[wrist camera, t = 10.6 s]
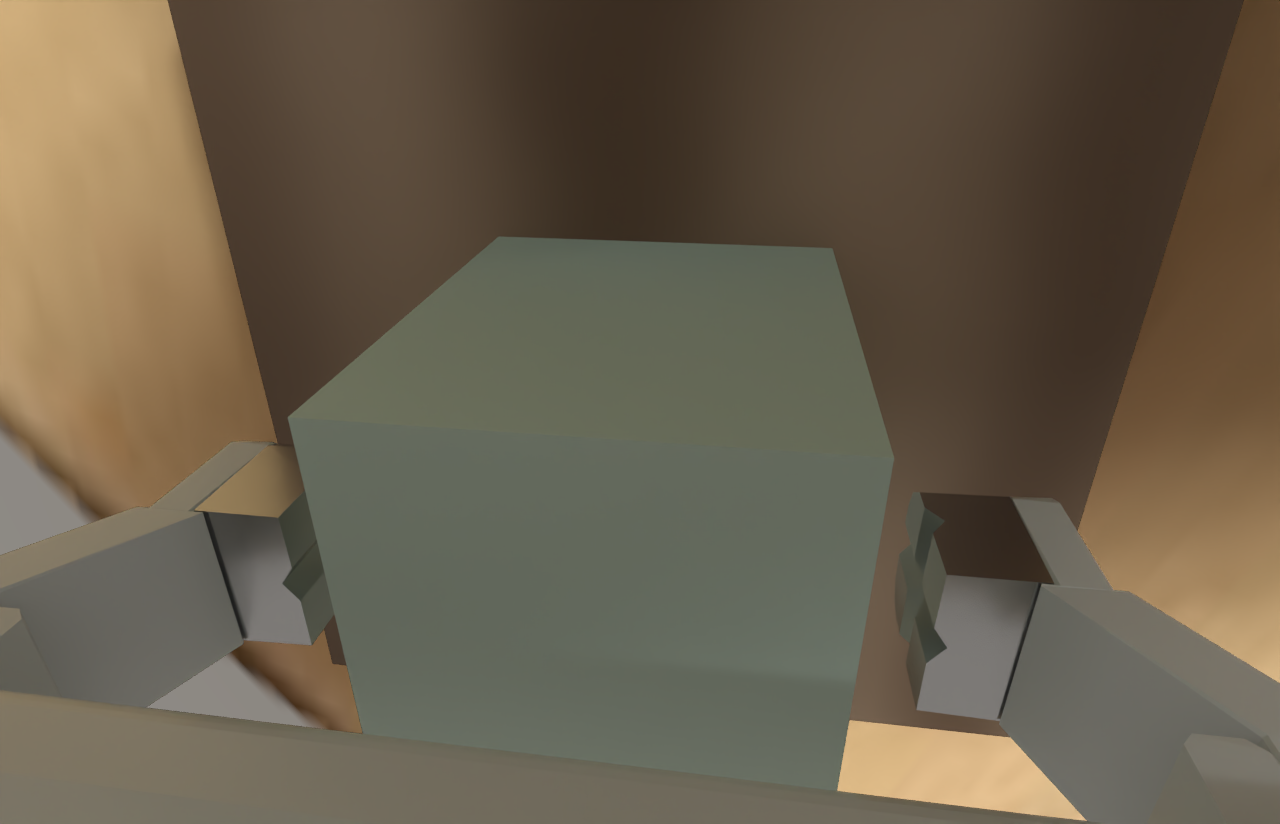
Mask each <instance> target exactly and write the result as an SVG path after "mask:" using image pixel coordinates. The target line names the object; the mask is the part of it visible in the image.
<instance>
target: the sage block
mask: <svg viewBox="0 0 1280 824" xmlns="http://www.w3.org/2000/svg"><path fill="white" fill-rule="evenodd" d="M288 421H289V425H290V430H291V434H292V438H293V442H294V446H295V451H296V455H297V459H298V463H299V467H300V472H301V476H302V480H303V484H304V488H305V493H306V497H307V501H308V505H309V509H310V514H311V518H312V522H313V526H314V530H315V535H316V539H317V543H318V547H319V551H320V556H321V560H322V564H323V568H324V572H325V577H326V581H327V585H328V589H329V593H330V598H331V602H332V606H333V610H334V614H335V619H336V623H337V627H338V631H339V636H340V640H341V644H342V648H343V652H344V657H345V661H346V665H347V669H348V673H349V678H350V682H351V686H352V690H353V694H354V699H355V703H356V707H357V711H358V715H359V720H360V724H361V728H362V732H363V734H369V735H377V736H385V737H394V738H402V739H410V740H419V741H427V742H436V743H444V744H452V745H461V746H469V747H477V748H486V749H494V750H503V751H511V752H519V753H528V754H536V755H545V756H553V757H561V758H570V759H578V760H586V761H595V762H603V763H612V764H620V765H628V766H636V767H644V768H653V769H661V770H669V771H677V772H685V773H694V774H702V775H710V776H718V777H726V778H735V779H743V780H751V781H759V782H767V783H775V784H784V785H792V786H800V787H808V788H816V789H825V790H833V791H837V788H838V782H839V776H840V770H841V764H842V758H843V753H844V747H845V741H846V735H847V729H848V724H849V718H850V712H851V706H852V700H853V695H854V689H855V683H856V677H857V671H858V666H859V660H860V654H861V648H862V642H863V637H864V631H865V625H866V619H867V613H868V608H869V602H870V596H871V590H872V584H873V578H874V573H875V567H876V561H877V555H878V549H879V544H880V538H881V532H882V526H883V520H884V515H885V509H886V503H887V497H888V491H889V486H890V480H891V474H892V468H893V462H894V455H893V452H892V449H891V445H890V442H889V439H888V435H887V432H886V428H885V425H884V422H883V418H882V415H881V411H880V408H879V405H878V401H877V398H876V394H875V391H874V388H873V384H872V381H871V377H870V374H869V371H868V367H867V364H866V361H865V357H864V354H863V350H862V347H861V344H860V340H859V337H858V333H857V330H856V327H855V323H854V320H853V316H852V313H851V310H850V306H849V303H848V299H847V296H846V293H845V289H844V286H843V283H842V279H841V276H840V272H839V269H838V266H837V262H836V259H835V255H834V252H833V249H832V248H815V247H786V246H757V245H729V244H700V243H671V242H642V241H614V240H585V239H556V238H528V237H497V238H496V239H495V240H494V241H493V242H492V243H490V244H489V245H488V246H487V247H486V248H485V249H483V250H482V251H481V252H480V253H479V254H478V255H476V256H475V257H474V258H473V259H472V260H471V261H469V262H468V263H467V264H466V265H465V266H464V267H462V268H461V269H460V270H459V271H458V272H457V273H455V274H454V275H453V276H452V277H451V278H450V279H448V280H447V281H446V282H445V283H444V284H443V285H441V286H440V287H439V288H438V289H437V290H436V291H434V292H433V293H432V294H431V295H430V296H429V297H427V298H426V299H425V300H424V301H423V302H422V303H420V304H419V305H418V306H417V307H416V308H415V309H413V310H412V311H411V312H410V313H409V314H408V315H406V316H405V317H404V318H403V319H402V320H401V321H399V322H398V323H397V324H396V325H395V326H394V327H392V328H391V329H390V330H389V331H388V332H387V333H385V334H384V335H383V336H382V337H381V338H380V339H378V340H377V341H376V342H375V343H374V344H373V345H371V346H370V347H369V348H368V349H367V350H366V351H364V352H363V353H362V354H361V355H360V356H359V357H357V358H356V359H355V360H354V361H353V362H352V363H350V364H349V365H348V366H347V367H346V368H345V369H343V370H342V371H341V372H340V373H339V374H338V375H336V376H335V377H334V378H333V379H332V380H331V381H329V382H328V383H327V384H326V385H325V386H324V387H322V388H321V389H320V390H319V391H318V392H317V393H315V394H314V395H313V396H312V397H311V398H310V399H308V400H307V401H306V402H305V403H304V404H303V405H301V406H300V407H299V408H298V409H297V410H296V411H294V412H293V413H292V414H291V415H290V416H289V417H288Z"/></svg>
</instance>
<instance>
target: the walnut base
mask: <svg viewBox="0 0 1280 824" xmlns="http://www.w3.org/2000/svg"><path fill="white" fill-rule="evenodd" d="M1243 1H1244V0H168V3H169V7H170V11H171V15H172V19H173V23H174V27H175V31H176V35H177V39H178V43H179V47H180V51H181V55H182V59H183V63H184V67H185V71H186V75H187V79H188V84H189V88H190V92H191V96H192V100H193V104H194V108H195V112H196V116H197V120H198V124H199V128H200V132H201V136H202V140H203V144H204V148H205V152H206V156H207V160H208V164H209V168H210V172H211V176H212V180H213V184H214V188H215V192H216V196H217V200H218V204H219V208H220V212H221V216H222V220H223V224H224V228H225V232H226V236H227V240H228V244H229V248H230V252H231V256H232V261H233V265H234V269H235V273H236V277H237V281H238V285H239V289H240V293H241V297H242V301H243V305H244V309H245V313H246V317H247V321H248V325H249V329H250V333H251V337H252V341H253V345H254V349H255V353H256V357H257V361H258V365H259V369H260V373H261V377H262V381H263V385H264V389H265V393H266V397H267V401H268V405H269V409H270V413H271V417H272V421H273V425H274V429H275V433H276V437H277V442H278V444H279V443H283V444H294V442H293V438H292V434H291V430H290V425H289V421H288V417H289V416H290V415H291V414H292V413H293V412H294V411H296V410H297V409H298V408H299V407H300V406H301V405H303V404H304V403H305V402H306V401H307V400H308V399H310V398H311V397H312V396H313V395H314V394H315V393H317V392H318V391H319V390H320V389H321V388H322V387H324V386H325V385H326V384H327V383H328V382H329V381H331V380H332V379H333V378H334V377H335V376H336V375H338V374H339V373H340V372H341V371H342V370H343V369H345V368H346V367H347V366H348V365H349V364H350V363H352V362H353V361H354V360H355V359H356V358H357V357H359V356H360V355H361V354H362V353H363V352H364V351H366V350H367V349H368V348H369V347H370V346H371V345H373V344H374V343H375V342H376V341H377V340H378V339H380V338H381V337H382V336H383V335H384V334H385V333H387V332H388V331H389V330H390V329H391V328H392V327H394V326H395V325H396V324H397V323H398V322H399V321H401V320H402V319H403V318H404V317H405V316H406V315H408V314H409V313H410V312H411V311H412V310H413V309H415V308H416V307H417V306H418V305H419V304H420V303H422V302H423V301H424V300H425V299H426V298H427V297H429V296H430V295H431V294H432V293H433V292H434V291H436V290H437V289H438V288H439V287H440V286H441V285H443V284H444V283H445V282H446V281H447V280H448V279H450V278H451V277H452V276H453V275H454V274H455V273H457V272H458V271H459V270H460V269H461V268H462V267H464V266H465V265H466V264H467V263H468V262H469V261H471V260H472V259H473V258H474V257H475V256H476V255H478V254H479V253H480V252H481V251H482V250H483V249H485V248H486V247H487V246H488V245H489V244H490V243H492V242H493V241H494V240H495V239H496V238H497V237H528V238H556V239H585V240H614V241H642V242H671V243H700V244H729V245H757V246H786V247H815V248H832V249H833V252H834V255H835V259H836V262H837V266H838V269H839V272H840V276H841V279H842V283H843V286H844V289H845V293H846V296H847V299H848V303H849V306H850V310H851V313H852V316H853V320H854V323H855V327H856V330H857V333H858V337H859V340H860V344H861V347H862V350H863V354H864V357H865V361H866V364H867V367H868V371H869V374H870V377H871V381H872V384H873V388H874V391H875V394H876V398H877V401H878V405H879V408H880V411H881V415H882V418H883V422H884V425H885V428H886V432H887V435H888V439H889V442H890V445H891V449H892V452H893V455H894V462H893V468H892V474H891V480H890V486H889V491H888V497H887V503H886V509H885V515H884V520H883V526H882V532H881V538H880V544H879V549H878V555H877V561H876V567H875V573H874V578H873V584H872V590H871V596H870V602H869V608H868V613H867V619H866V625H865V631H864V637H863V642H862V648H861V654H860V660H859V666H858V671H857V677H856V683H855V689H854V695H853V700H852V706H851V712H850V718H849V720H855V721H864V722H873V723H883V724H892V725H901V726H910V727H920V728H929V729H938V730H947V731H956V732H966V733H975V734H984V735H993V736H1003V737H1010V736H1009V735H1008V734H1007V733H1006V732H1005V731H1004V730H1003V728H1002V727H1001V726H1000V725H999V723H1000V721H995V720H988V719H980V718H973V717H965V716H958V715H950V714H943V713H935V712H928V711H920V710H916V706H915V702H914V698H913V693H912V689H911V685H910V680H909V676H908V672H907V667H906V659H907V654H908V649H909V644H910V643H909V642H908V641H906V640H905V639H904V638H903V637H902V636H901V635H900V634H899V630H898V625H897V620H896V612H895V602H894V598H895V577H896V571H897V564H898V558H899V554H900V553H901V552H902V551H903V550H904V549H905V548H907V547H908V546H909V545H910V544H911V543H910V540H909V536H908V532H907V528H906V524H905V520H906V515H907V510H908V505H909V502H910V500H911V497H912V494H913V492H924V493H944V494H964V495H985V496H1007V497H1034V498H1052V499H1054V500H1056V501H1058V502H1059V503H1060V504H1061V505H1062V507H1063V509H1064V510H1065V512H1066V514H1067V515H1068V517H1069V518H1070V520H1071V522H1072V523H1073V525H1074V526H1075V528H1076V530H1078V527H1079V524H1080V521H1081V517H1082V514H1083V511H1084V508H1085V505H1086V501H1087V498H1088V495H1089V492H1090V489H1091V486H1092V482H1093V479H1094V476H1095V473H1096V470H1097V466H1098V463H1099V460H1100V457H1101V454H1102V450H1103V447H1104V444H1105V441H1106V438H1107V435H1108V431H1109V428H1110V425H1111V422H1112V419H1113V415H1114V412H1115V409H1116V406H1117V403H1118V399H1119V396H1120V393H1121V390H1122V387H1123V384H1124V380H1125V377H1126V374H1127V371H1128V368H1129V364H1130V361H1131V358H1132V355H1133V352H1134V349H1135V345H1136V342H1137V339H1138V336H1139V333H1140V329H1141V326H1142V323H1143V320H1144V317H1145V313H1146V310H1147V307H1148V304H1149V301H1150V298H1151V294H1152V291H1153V288H1154V285H1155V282H1156V278H1157V275H1158V272H1159V269H1160V266H1161V262H1162V259H1163V256H1164V253H1165V250H1166V247H1167V243H1168V240H1169V237H1170V234H1171V231H1172V227H1173V224H1174V221H1175V218H1176V215H1177V212H1178V208H1179V205H1180V202H1181V199H1182V196H1183V192H1184V189H1185V186H1186V183H1187V180H1188V176H1189V173H1190V170H1191V167H1192V164H1193V161H1194V157H1195V154H1196V151H1197V148H1198V145H1199V141H1200V138H1201V135H1202V132H1203V129H1204V125H1205V122H1206V119H1207V116H1208V113H1209V110H1210V106H1211V103H1212V100H1213V97H1214V94H1215V90H1216V87H1217V84H1218V81H1219V78H1220V75H1221V71H1222V68H1223V65H1224V62H1225V59H1226V55H1227V52H1228V49H1229V46H1230V43H1231V39H1232V36H1233V33H1234V30H1235V27H1236V24H1237V20H1238V17H1239V14H1240V11H1241V8H1242V4H1243ZM324 631H325V635H326V639H327V643H328V647H329V651H330V655H331V659H332V663H333V664H339V665H346V661H345V657H344V652H343V648H342V644H341V640H340V636H339V631H338V627H337V623H336V619H335V614H334V615H333V617H332V618H331V619H330V621H329V622H328V624H327V625H326V626H325V628H324Z"/></svg>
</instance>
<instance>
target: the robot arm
mask: <svg viewBox="0 0 1280 824" xmlns="http://www.w3.org/2000/svg"><path fill="white" fill-rule="evenodd" d="M905 524H906V528H907V532H908V536H909V540H910V543H911V544H910V545H909V546H908V547H907V548H905V549H904V550H903V551H902V552H901V553H900V554H899V558H898V564H897V571H896V577H895V598H894V602H895V612H896V620H897V625H898V630H899V634H900V635H901V636H902V637H903V638H904V639H905V640H906V641H908V642H909V643H910V644H909V649H908V654H907V659H906V667H907V672H908V676H909V680H910V685H911V689H912V693H913V698H914V702H915V706H916V710H920V711H928V712H935V713H943V714H950V715H958V716H965V717H973V718H980V719H988V720H995V721H1000V723H999V725H1000V726H1001V727H1002V728H1003V730H1004V731H1005V732H1006V733H1007V734H1008V735H1009V736H1010V737H1011V738H1012V739H1013V740H1014V742H1015V743H1016V744H1017V745H1018V746H1019V747H1020V748H1021V749H1022V750H1023V751H1024V752H1025V754H1026V755H1027V756H1028V757H1029V758H1030V759H1031V760H1032V761H1033V762H1034V763H1035V764H1036V766H1037V767H1038V768H1039V769H1040V770H1041V771H1042V772H1043V773H1044V774H1045V775H1046V776H1047V778H1048V779H1049V780H1050V781H1051V782H1052V783H1053V784H1054V785H1055V786H1056V787H1057V788H1058V790H1059V791H1060V792H1061V793H1062V794H1063V795H1064V796H1065V797H1066V798H1067V799H1068V800H1069V802H1070V803H1071V804H1072V805H1073V806H1074V807H1075V808H1076V809H1077V810H1078V811H1079V812H1080V814H1081V815H1082V816H1083V817H1084V818H1085V819H1086V820H1087V821H1082V820H1073V819H1064V818H1056V817H1047V816H1038V815H1030V814H1021V813H1013V812H1005V811H997V810H988V809H980V808H972V807H964V806H956V805H947V804H939V803H931V802H923V801H915V800H906V799H898V798H890V797H882V796H874V795H866V794H857V793H849V792H841V791H833V790H825V789H816V788H808V787H800V786H792V785H784V784H775V783H767V782H759V781H751V780H743V779H735V778H726V777H718V776H710V775H702V774H694V773H685V772H677V771H669V770H661V769H653V768H644V767H636V766H628V765H620V764H612V763H603V762H595V761H586V760H578V759H570V758H561V757H553V756H545V755H536V754H528V753H519V752H511V751H503V750H494V749H486V748H477V747H469V746H461V745H452V744H444V743H436V742H427V741H419V740H410V739H402V738H394V737H385V736H377V735H369V734H360V733H352V732H343V731H335V730H327V729H318V728H310V727H302V726H293V725H284V724H277V723H269V722H260V721H252V720H244V719H236V718H227V717H219V716H210V715H202V714H194V713H186V712H178V711H169V710H161V709H153V708H146V707H147V706H149V705H150V704H152V703H154V702H155V701H156V700H158V699H159V698H161V697H163V696H164V695H166V694H167V693H169V692H170V691H172V690H173V689H175V688H176V687H178V686H179V685H181V684H183V683H184V682H186V681H187V680H189V679H190V678H192V677H193V676H195V675H196V674H198V673H199V672H201V671H203V670H204V669H205V668H207V667H209V666H210V665H212V664H213V663H215V662H216V661H218V660H219V659H221V658H222V657H224V656H226V655H227V654H229V653H230V652H232V651H233V650H235V649H236V648H238V647H239V646H241V645H242V644H243V643H244V641H243V640H249V641H262V642H275V643H288V644H301V645H312V644H313V643H314V642H315V640H316V639H317V637H318V636H319V635H320V633H321V632H322V630H323V629H324V628H325V626H326V625H327V624H328V622H329V621H330V619H331V618H332V617H333V615H334V610H333V606H332V602H331V598H330V593H329V589H328V585H327V581H326V577H325V572H324V568H323V564H322V560H321V556H320V551H319V547H318V543H317V539H316V535H315V530H314V526H313V522H312V518H311V514H310V509H309V505H308V501H307V497H306V493H305V488H304V484H303V480H302V476H301V472H300V467H299V463H298V459H297V455H296V451H295V446H294V444H283V443H279V444H277V443H274V442H260V441H235V442H231V443H229V444H228V445H227V446H226V447H224V448H223V449H222V450H221V451H219V452H218V453H217V454H216V455H214V456H213V457H212V458H211V459H209V460H208V461H207V462H206V463H204V464H203V465H202V466H201V467H199V468H198V469H197V470H196V471H194V472H193V473H192V474H191V475H189V476H188V477H187V478H186V479H184V480H183V481H182V482H181V483H179V484H178V485H177V486H176V487H174V488H173V489H172V490H171V491H169V492H168V493H167V494H166V495H164V496H163V497H162V498H161V499H159V500H158V501H157V502H156V503H154V504H153V505H152V506H151V507H149V508H147V507H135V508H132V509H129V510H127V511H124V512H121V513H118V514H115V515H112V516H110V517H107V518H104V519H101V520H98V521H96V522H93V523H90V524H87V525H84V526H81V527H79V528H76V529H73V530H70V531H67V532H65V533H62V534H59V535H56V536H53V537H50V538H48V539H45V540H42V541H39V542H36V543H33V544H31V545H28V546H25V547H22V548H19V549H17V550H14V551H11V552H8V553H5V554H3V555H0V824H1280V683H1278V682H1277V681H1275V680H1273V679H1272V678H1270V677H1269V676H1267V675H1265V674H1264V673H1262V672H1260V671H1259V670H1257V669H1255V668H1254V667H1252V666H1250V665H1249V664H1247V663H1246V662H1244V661H1242V660H1241V659H1239V658H1237V657H1236V656H1234V655H1232V654H1231V653H1229V652H1228V651H1226V650H1224V649H1223V648H1221V647H1219V646H1218V645H1216V644H1214V643H1213V642H1211V641H1209V640H1208V639H1206V638H1205V637H1203V636H1201V635H1200V634H1198V633H1196V632H1195V631H1193V630H1191V629H1190V628H1188V627H1187V626H1185V625H1183V624H1182V623H1180V622H1178V621H1177V620H1175V619H1173V618H1172V617H1170V616H1169V615H1167V614H1165V613H1164V612H1162V611H1160V610H1159V609H1157V608H1155V607H1154V606H1152V605H1150V604H1149V603H1147V602H1146V601H1144V600H1142V599H1141V598H1139V597H1137V596H1136V595H1134V594H1132V593H1131V592H1128V591H1118V590H1113V588H1112V586H1111V585H1110V583H1109V582H1108V580H1107V578H1106V577H1105V575H1104V573H1103V572H1102V570H1101V569H1100V567H1099V565H1098V564H1097V562H1096V560H1095V559H1094V557H1093V556H1092V554H1091V552H1090V551H1089V549H1088V548H1087V546H1086V544H1085V543H1084V541H1083V539H1082V538H1081V536H1080V535H1079V533H1078V531H1077V530H1076V528H1075V526H1074V525H1073V523H1072V522H1071V520H1070V518H1069V517H1068V515H1067V514H1066V512H1065V510H1064V509H1063V507H1062V505H1061V504H1060V503H1059V502H1058V501H1056V500H1054V499H1052V498H1034V497H1007V496H985V495H964V494H944V493H924V492H913V494H912V497H911V500H910V502H909V505H908V510H907V515H906V520H905Z"/></svg>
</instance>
